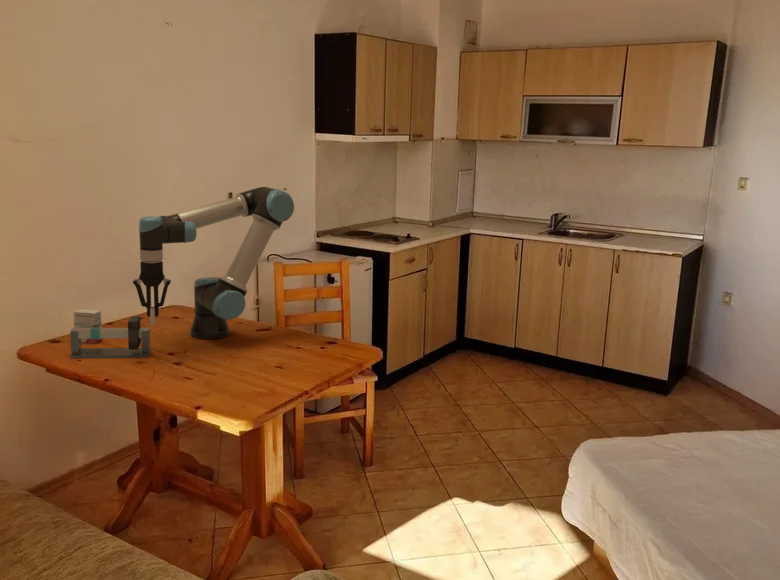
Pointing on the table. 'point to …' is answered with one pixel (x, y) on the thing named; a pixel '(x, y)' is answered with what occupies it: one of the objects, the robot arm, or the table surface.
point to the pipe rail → (99, 333)
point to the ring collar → (134, 333)
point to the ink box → (87, 322)
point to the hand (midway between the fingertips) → (153, 325)
